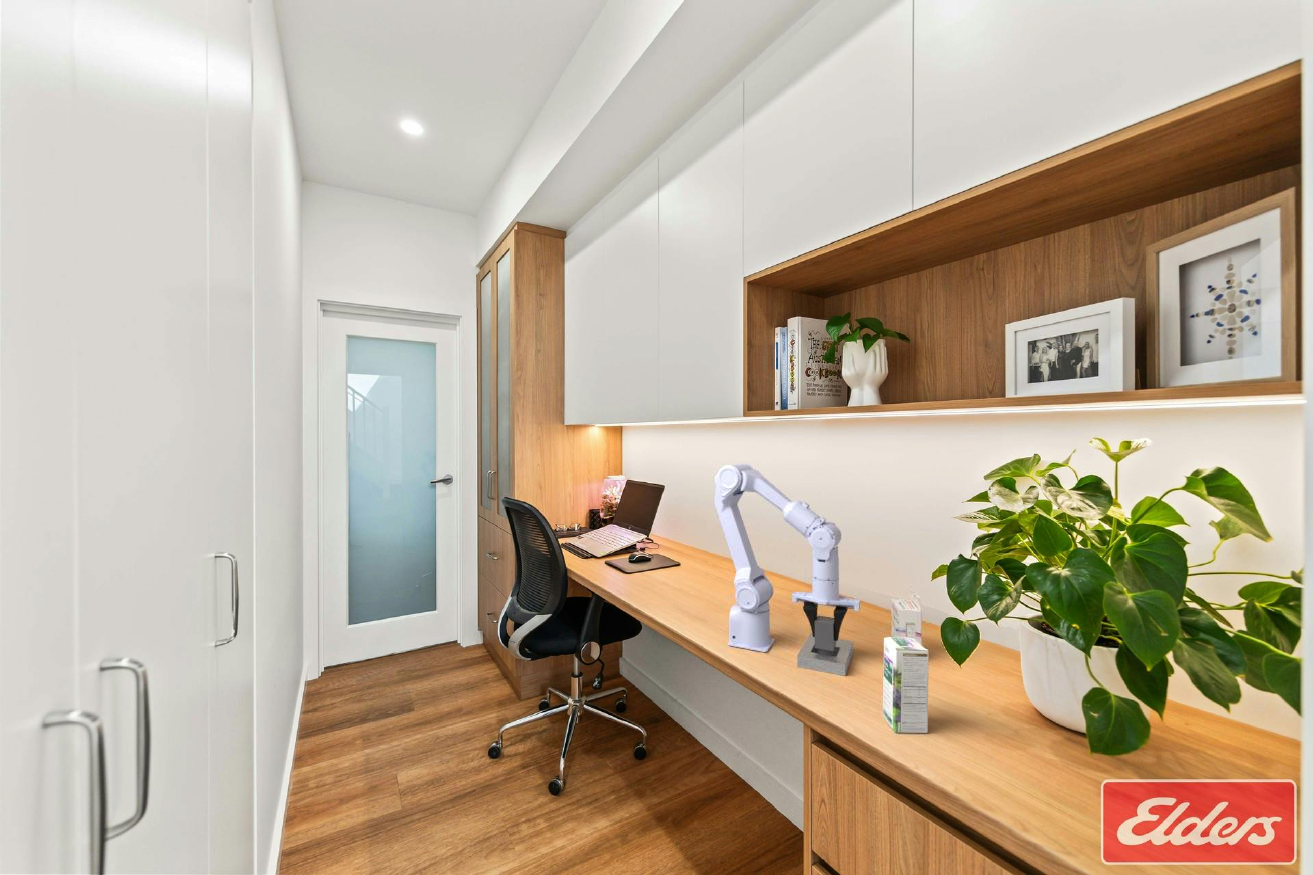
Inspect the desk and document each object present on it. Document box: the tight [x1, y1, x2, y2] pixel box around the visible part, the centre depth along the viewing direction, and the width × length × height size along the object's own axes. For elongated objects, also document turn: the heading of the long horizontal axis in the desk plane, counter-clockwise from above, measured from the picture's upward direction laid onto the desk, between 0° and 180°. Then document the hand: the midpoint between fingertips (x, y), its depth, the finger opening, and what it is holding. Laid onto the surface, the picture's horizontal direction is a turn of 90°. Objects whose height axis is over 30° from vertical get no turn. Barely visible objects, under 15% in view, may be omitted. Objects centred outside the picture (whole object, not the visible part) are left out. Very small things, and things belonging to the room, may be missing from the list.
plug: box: [815, 615, 836, 651], centre depth 119 cm, size 4×4×6 cm
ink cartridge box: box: [890, 587, 923, 646], centre depth 123 cm, size 9×5×15 cm, turn 168°
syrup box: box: [882, 636, 930, 734], centre depth 93 cm, size 6×6×14 cm
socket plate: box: [796, 633, 854, 677], centre depth 121 cm, size 10×14×3 cm
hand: (825, 637), depth 120 cm, fingers closed on plug, 4 cm apart
